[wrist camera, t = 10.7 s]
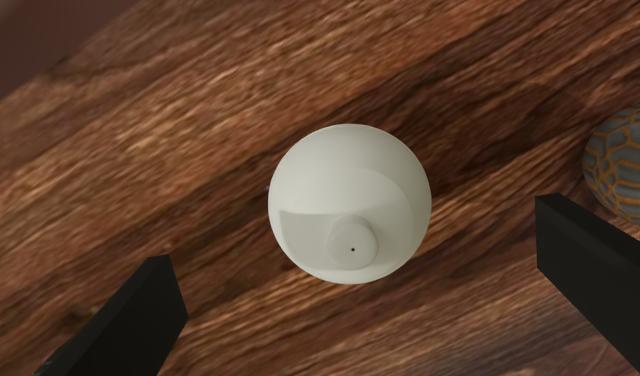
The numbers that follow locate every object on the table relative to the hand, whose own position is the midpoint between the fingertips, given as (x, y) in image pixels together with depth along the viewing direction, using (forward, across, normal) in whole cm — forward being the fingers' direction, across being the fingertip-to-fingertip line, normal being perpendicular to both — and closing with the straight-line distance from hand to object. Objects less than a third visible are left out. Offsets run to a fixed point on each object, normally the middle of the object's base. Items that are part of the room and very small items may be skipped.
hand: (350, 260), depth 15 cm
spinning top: (+13, 0, 0) cm, 13 cm away
